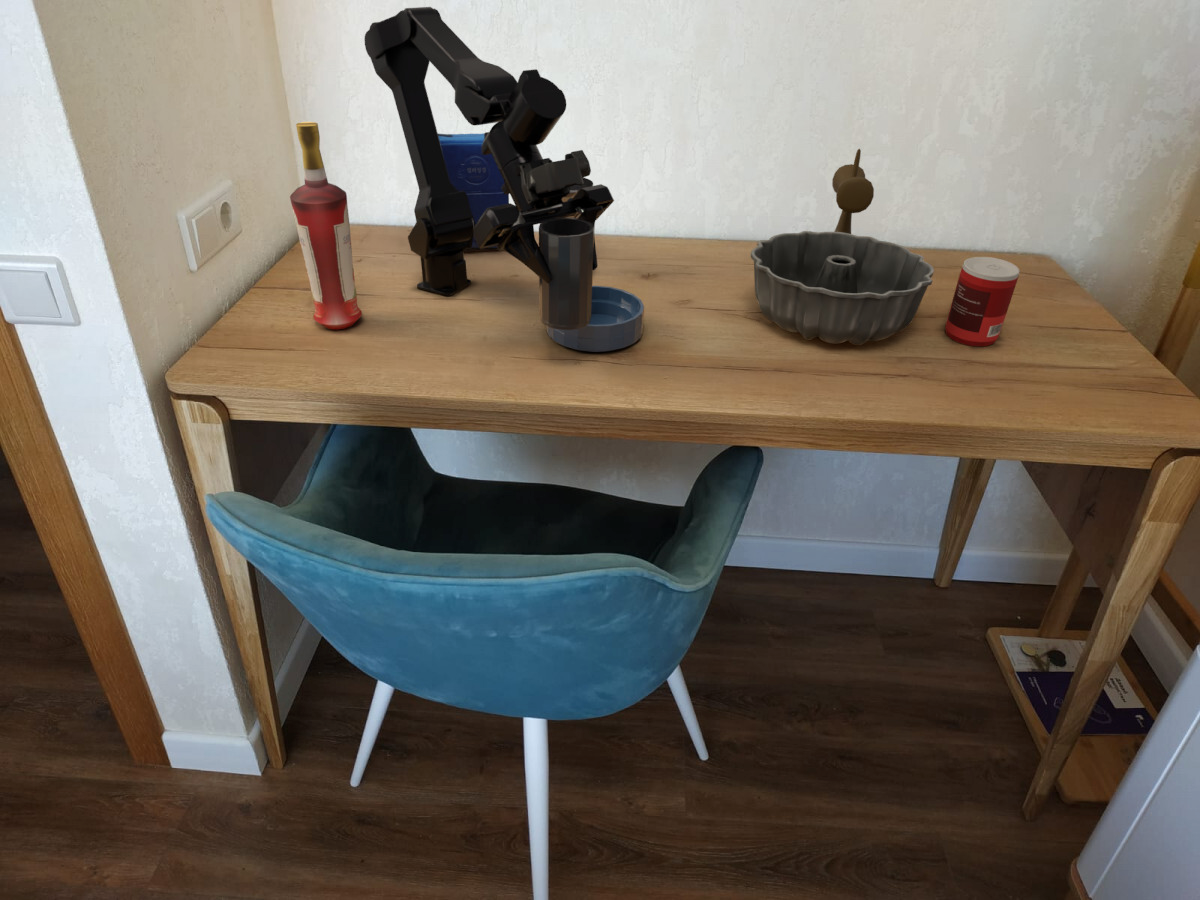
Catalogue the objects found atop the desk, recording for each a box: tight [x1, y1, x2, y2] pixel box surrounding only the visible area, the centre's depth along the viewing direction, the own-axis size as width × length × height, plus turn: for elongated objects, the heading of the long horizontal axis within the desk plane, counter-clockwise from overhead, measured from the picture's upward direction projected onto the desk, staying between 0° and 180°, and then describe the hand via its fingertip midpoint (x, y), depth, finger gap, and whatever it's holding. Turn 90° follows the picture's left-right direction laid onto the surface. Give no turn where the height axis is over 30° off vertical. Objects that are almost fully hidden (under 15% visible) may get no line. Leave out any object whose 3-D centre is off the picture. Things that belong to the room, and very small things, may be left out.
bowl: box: [545, 285, 645, 353], centre depth 121 cm, size 14×14×4 cm
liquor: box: [289, 121, 363, 331], centre depth 115 cm, size 7×7×28 cm
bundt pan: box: [750, 230, 935, 346], centre depth 125 cm, size 26×26×10 cm
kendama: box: [831, 148, 875, 234], centre depth 142 cm, size 6×10×20 cm, turn 173°
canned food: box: [945, 256, 1021, 347], centre depth 122 cm, size 8×8×11 cm
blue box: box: [438, 132, 510, 253], centre depth 143 cm, size 14×5×20 cm, turn 102°
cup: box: [538, 218, 595, 330], centre depth 106 cm, size 7×7×12 cm
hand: (572, 275), depth 105 cm, fingers closed on cup, 7 cm apart
